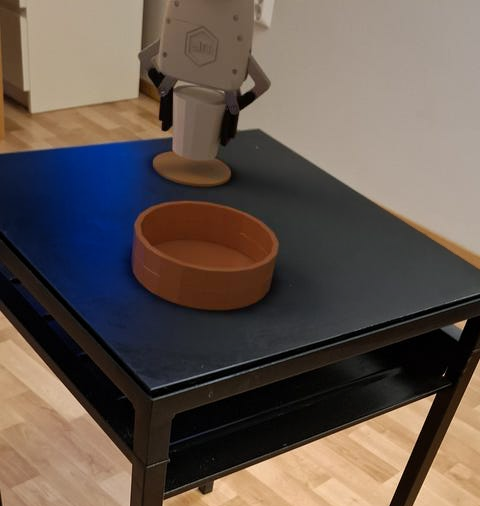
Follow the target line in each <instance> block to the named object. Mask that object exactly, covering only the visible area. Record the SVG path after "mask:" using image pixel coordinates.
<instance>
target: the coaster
mask: <svg viewBox="0 0 480 506" xmlns="http://www.w3.org/2000/svg"><path fill="white" fill-rule="evenodd" d="M152 167H153V169H154V171H155V172H156V173H158V175H160V176H161V177H163V178H165V179H167V180H168V181H171V182H174V183H177V184H180V185H185V186H190V187H201V188H209V187H210V188H211V187H216V186H221V185H225V183H227V182H229V181H230V179H231V177H232V171H231V169H230V167H229V166H228V165H227V164H226V163H225V162H223V161H222V160H220V159H218V158H216V157H215V158H213V159H210V160H200V161H199V160H192V159H188V158H184V157H181V156H180V155H178V154H176V153H175V152H174V151H173V150H171V151H166V152H162V153H159V154H158V155H156V156H155V157H154V158H153V159H152Z"/></svg>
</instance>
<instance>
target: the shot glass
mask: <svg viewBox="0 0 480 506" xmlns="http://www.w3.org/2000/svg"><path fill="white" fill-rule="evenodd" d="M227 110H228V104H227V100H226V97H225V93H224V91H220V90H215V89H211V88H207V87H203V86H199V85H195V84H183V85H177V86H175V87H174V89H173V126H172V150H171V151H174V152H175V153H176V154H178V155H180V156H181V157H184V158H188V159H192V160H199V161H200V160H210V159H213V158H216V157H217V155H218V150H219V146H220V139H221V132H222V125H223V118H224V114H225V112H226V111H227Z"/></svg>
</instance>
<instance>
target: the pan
mask: <svg viewBox="0 0 480 506" xmlns="http://www.w3.org/2000/svg"><path fill="white" fill-rule="evenodd" d="M132 235H133V237H132V251H131V252H132V253H131V260H130V261H131V268H132V273H133V275H134V276H135V278H136V280H137V281H138V282H139V283H140V284H141V285H142V286H143V287H144V288H145V289H147V290H148V291H150V292H151V293H152V294H154V295H156V296H157V297H159V298H161V299H163V300H166V301H167V302H168V301H169V302H171V303H173V304H177V305H179V306H182V307H187V308H192V309H196V310H197V309H198V310H205V311H206V310H207V311H228V310H237V309H241V308H245V307H248V306H251V305H253V304H255V303H257V302H259V301H260V300H262V299H263V298H264V297H265V296H266V295H267V294H268V292H269V291H270V288H271V284H272V279H273V276H274V270H275V264H276V261H277V256H278V252H279V245H280V243H279V240H278V238H277V236H276V234H275V232H274V231H273V230H272V229H271V228H270V227H269V226H267V225H266V224H265V222H264V221H262V220H260V219H258V218H256V217H255V216H253V215H251V214H250V213H248V212H245V211H242V210H240V209H237V208H234V207H231V206H229V205H222V204H218V203H214V202H208V201H199V200H178V201H177V200H176V201H166V202H162V203H159V204H156V205H151V206H150V207H148V208H147V209H145V210H143V211H142V212H140V213H139V215H138V216H137V218H136V220H135V222H134V224H133V234H132Z"/></svg>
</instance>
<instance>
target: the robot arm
mask: <svg viewBox="0 0 480 506" xmlns="http://www.w3.org/2000/svg"><path fill="white" fill-rule="evenodd" d="M163 16H164V17H163V22H162V23H163V24H162V28H161V35H160V38H158V39H157V40H155V41H154V42H153V43H151V44H150V45H147V46H146V47H145V48H143V49H142V50H141V51H139V52H138V53H137V58H138V60H139V62H140V63H141V66H142V67H143V68H144V69H145V71H146V72H147V77H148V78H149V80H150V81H151V83H152V84H153V86H154V87H155V89H156V91H157V94H158V96H159V107H158V108H159V109H158V121H160V122H161V129H160V130H161V132H165V133H166V132H168V131H169V130H171V128H173V89H174V88H175V87H176V85H177V83H178V82H179V81H180V82H182V83H183V82H184V83H187V84H190V85H198V86H203V87H207V88H211V89H215V90H218V91H220V92H223V93H224V94H225V97H226V100H227V104H228V109H227V111H226V112H225V114H224V118H223V125H222V132H221V138H220V143H219V145H220V146H221V147H224V148H225V147H227V145H228V144H229V143H230V141H231V140H234V139H235V138H236V135H237V131H238V125H239V117H240V112H242V111H243V110H244V109H246V108H247V107H249V106H250V105H251V104H253V103H254V102H255V101H256V100H257V99H259V98H260V97H261V96H262V95H264V94H265V93H266V92H267V91H269V89H270V87H272V86H271V85H272V82H271V80H270V79H269V77H268V76H267V74H266V73H265V71H264V70H263V68H261V65H259V63H258V62H257V60H256V58H255V57H254V56H253V54H252V52H253V40H254V26H255V0H167V1H166V7H165V12H164V15H163ZM157 55H158V60H157V61H156V56H157ZM248 77H250V78H251V79H252V81H253V82H254V85H253V86H252V87H251V88H250V89H249V90H247V91H246V92H245V93H242V90H241V87H242V86H243V84H244V82H246V81H247V79H248Z"/></svg>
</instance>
